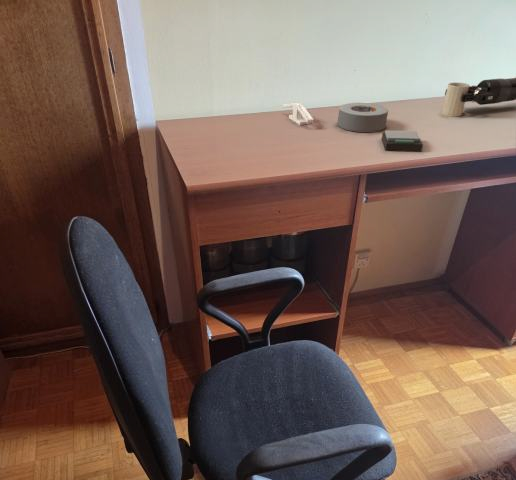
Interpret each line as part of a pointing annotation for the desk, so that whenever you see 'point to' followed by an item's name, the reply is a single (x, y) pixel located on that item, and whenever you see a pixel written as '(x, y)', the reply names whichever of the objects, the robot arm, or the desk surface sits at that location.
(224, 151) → the desk surface
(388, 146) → the scale
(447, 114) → the cup
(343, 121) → the tape roll
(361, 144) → the desk surface
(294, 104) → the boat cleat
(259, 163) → the desk surface
